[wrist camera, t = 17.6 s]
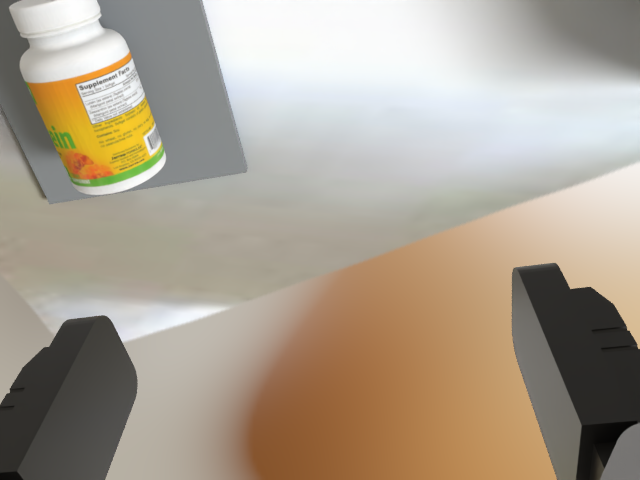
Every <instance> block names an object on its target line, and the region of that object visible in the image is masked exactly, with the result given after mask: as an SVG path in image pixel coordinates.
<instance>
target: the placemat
mask: <svg viewBox="0 0 640 480" xmlns="http://www.w3.org/2000/svg"><path fill="white" fill-rule="evenodd" d="M18 1H21V0H0V105H1V107H2V109H3V111H4V113H5V115H6V117H7V119H8V121H9V123H10V125H11V127H12V129H13V131H14V133H15V135H16V137H17V139H18V141H19V143H20V145H21V148H22V150H23V152H24V154H25V156H26V158H27V160H28V162H29V164H30V166H31V168H32V170H33V172H34V174H35V176H36V178H37V180H38V182H39V184H40V186H41V188H42V190H43V192H44V194H45V196H46V198H47V200H48V202H49V204H54V203H60V202H67V201H73V200H79V199H85V198H91V197H97V196H104V195H110V194H103V195H90V194H85V193H82V192H79V191H78V190H76V189H75V187H74V186H73V184H72V182H71V180H70V178H69V176H68V174H67V172H66V170H65V167H64V165H63V163H62V161H61V159H60V156H59V154H58V152H57V150H56V148H55V145H54V143H53V141H52V139H51V137H50V134H49V132H48V130H47V128H46V126H45V124H44V122H43V119H42V117H41V115H40V113H39V111H38V109H37V107H36V104H35V102H34V100H33V98H32V96H31V94H30V91H29V89H28V87H27V85H26V83H25V81H24V78H23V76H22V73H21V71H20V60H21V57H22V55H23V54H24V53H25V52H26V51H27V50H28V49H29V48H30V44H29V41H28V39H27V38H23V37H21V35H20V32H19V31H18V29H17V27H16V25H15V22H14V20H13V18H12V15H11V13H10V10H9V7H10V6H11V5H12V4H14V3H16V2H18ZM97 2H98V4H99V6H100V13H101V17H100V18H99V19H98V20H99V23H100V25H101V26H102V27H103V28H107V29H112V30H114V31H116V32H118V33H119V34H120V35H121V36H122V37H123V38H124V39H125V41H126V43H127V46H128V48H129V50H130V53H131V56H132V59H133V62H134V65H135V68H136V71H137V73H138V76H139V79H140V82H141V85H142V88H143V90H144V93H145V96H146V99H147V102H148V104H149V107H150V110H151V113H152V116H153V119H154V121H155V124H156V127H157V130H158V132H159V135H160V138H161V141H162V144H163V147H164V151H165V154H166V161H165V164H164V166H163V167H162V169H161V170H160V171H159V172H158V173H157V174H155V175H154V176H153V177H151V178H150V179H148V180H147V181H145V182H143V183H141V184H139V185H137V186H135V187H132V188H130V189H127V190H124V191H121V192H116V193H122V192H128V191H134V190H141V189H147V188H153V187H159V186H165V185H171V184H178V183H184V182H190V181H196V180H202V179H208V178H215V177H221V176H227V175H233V174H239V173H245V172H247V165H246V161H245V157H244V154H243V150H242V146H241V143H240V139H239V135H238V132H237V128H236V124H235V121H234V117H233V113H232V109H231V106H230V102H229V98H228V95H227V91H226V87H225V84H224V80H223V76H222V73H221V69H220V65H219V61H218V58H217V54H216V50H215V47H214V43H213V39H212V36H211V32H210V28H209V25H208V21H207V17H206V13H205V10H204V6H203V2H202V0H97ZM116 193H111V194H116Z"/></svg>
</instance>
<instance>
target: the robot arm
mask: <svg viewBox="0 0 640 480" xmlns="http://www.w3.org/2000/svg"><path fill="white" fill-rule="evenodd" d="M512 336H513V343H514V349H515V354H516V358H517V362H518V365H519V367H520V371H521V373H522V376H523V379H524V382H525V385H526V388H527V391H528V394H529V397H530V400H531V403H532V406H533V409H534V412H535V415H536V418H537V421H538V424H539V427H540V429H541V432H542V436H543V439H544V441H545V444H546V447H547V450H548V453H549V456H550V459H551V462H552V465H553V468H554V471H555V474H556V477H557V480H640V349H638V347H637V343H636V341H635V340H634V338H633V336H632V335H631V333H630V331H627V327H626V324H625V323H624V321H623V319H622V318H621V316H620V314H619V313H618V311H617V309H616V308H615V306H614V305H613V303H611V302H610V301H609V300H607V299H606V298H605V297H603V296H602V295H600V294H599V293H598V292H596V291H595V290H594V289H593V288H591V287H585V288H576V289H570V288H569V286H568V284H567V282H566V280H565V278H564V276H563V274H562V272H561V271H560V268H559V266H558V265H557V264H556V263H550V264H541V265H533V266H524V267H516V268H514V269H513V272H512ZM136 394H137V375H136V371H135V368H134V365H133V363H132V361H131V359H130V357H129V355H128V353H127V351H126V349H125V347H124V345H123V343H122V341H121V339H120V337H119V335H118V333H117V331H116V329H115V327H114V325H113V323H112V321H111V320H110V319H109V318H108V317H107V316H103V315H102V316H94V317H86V318H77V319H70V320H67V321H65V322H64V323H63V324H62V326H61V328H60V329H59V331H58V333H57V334H56V336H55V338H54V340H53V341H52V343H51V345H50V346H49V347H45V348H43V349H42V350H41V351H40V352H39V353H38V354H37V355H36V356H35V357H34V358H32V360H31V361H30V362H28V363H27V364H26V365H25V366H24V367H23V368H22V370H21V372H20V373H19V375H18V376H17V378H16V380H15V382H14V383H13V385H12V386H11V388H10V393H8V394H6V396H5V398H4V399H3V401H2V403H1V404H0V480H105V478H106V475H107V473H108V470H109V468H110V465H111V462H112V460H113V457H114V454H115V452H116V449H117V446H118V443H119V441H120V438H121V436H122V433H123V430H124V428H125V425H126V422H127V419H128V417H129V414H130V412H131V409H132V406H133V404H134V401H135V398H136Z"/></svg>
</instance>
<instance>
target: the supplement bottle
mask: <svg viewBox="0 0 640 480" xmlns="http://www.w3.org/2000/svg"><path fill="white" fill-rule="evenodd" d="M9 10H10V13H11V15H12V18H13V20H14V22H15V25H16V27H17V29H18V31H19V32H20V35H21V37H23V38H27V39H28V41H29V44H30V48H29V49H28V50H27V51H26V52H25V53H24V54H23V55H22V57H21V60H20V71H21V73H22V76H23V78H24V81H25V83H26V85H27V87H28V89H29V91H30V94H31V96H32V98H33V100H34V102H35V104H36V107H37V109H38V111H39V113H40V115H41V117H42V119H43V122H44V124H45V126H46V128H47V130H48V132H49V134H50V137H51V139H52V141H53V143H54V145H55V148H56V150H57V152H58V154H59V156H60V159H61V161H62V163H63V165H64V167H65V170H66V172H67V174H68V176H69V178H70V180H71V182H72V184H73V186H74V187H75V189H76V190H78V191H79V192H82V193H85V194H90V195H103V194H111V193H116V192H121V191H124V190H127V189H130V188H132V187H135V186H137V185H139V184H141V183H143V182H145V181H147V180H148V179H150V178H151V177H153V176H154V175H155V174H157V173H158V172H159V171H160V170H161V169H162V167H163V166H164V164H165V161H166V154H165V151H164V147H163V144H162V141H161V138H160V135H159V132H158V130H157V127H156V124H155V121H154V119H153V116H152V113H151V110H150V107H149V104H148V102H147V99H146V96H145V93H144V90H143V88H142V85H141V82H140V79H139V76H138V73H137V71H136V68H135V65H134V62H133V59H132V56H131V53H130V50H129V48H128V46H127V43H126V41H125V39H124V38H123V37H122V36H121V35H120V34H119V33H118V32H116V31H114V30H112V29H107V28H103V27H102V26H101V25H100V23H99V20H98V19H99V18H100V17H101V13H100V6H99V4H98V2H97V0H21V1H18V2H16V3H14V4H12V5H11V6H10V7H9Z"/></svg>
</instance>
